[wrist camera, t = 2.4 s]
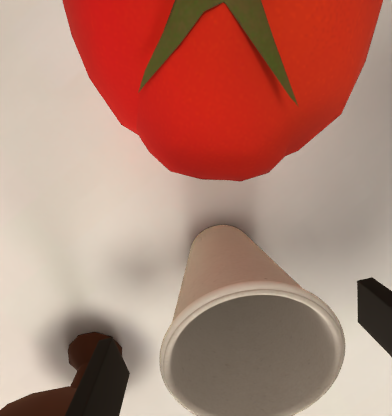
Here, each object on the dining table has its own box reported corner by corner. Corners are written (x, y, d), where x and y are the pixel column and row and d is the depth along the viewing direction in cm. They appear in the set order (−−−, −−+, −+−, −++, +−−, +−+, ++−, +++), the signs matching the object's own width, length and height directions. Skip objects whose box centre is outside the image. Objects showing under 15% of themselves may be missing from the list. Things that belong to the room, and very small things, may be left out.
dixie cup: (283, 263, 19) (375, 381, 10) (207, 306, 20) (223, 450, 11) (237, 190, 17) (297, 247, 8) (155, 243, 18) (118, 350, 9)
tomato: (97, -32, 13) (-249, -698, 3) (296, -61, 13) (717, -878, 3) (142, 180, 17) (68, 234, 7) (295, 159, 17) (463, 181, 6)
